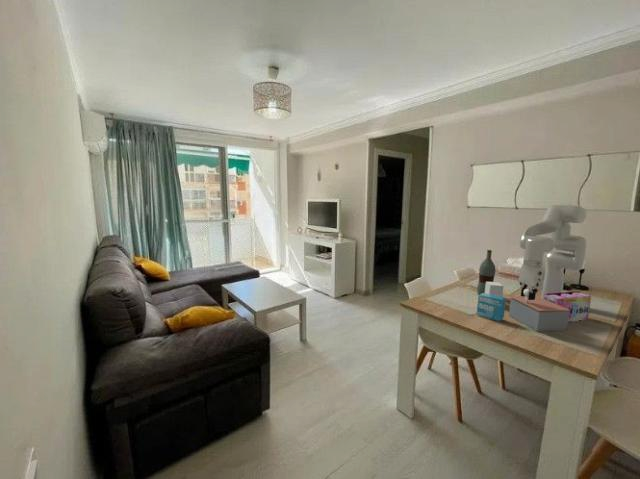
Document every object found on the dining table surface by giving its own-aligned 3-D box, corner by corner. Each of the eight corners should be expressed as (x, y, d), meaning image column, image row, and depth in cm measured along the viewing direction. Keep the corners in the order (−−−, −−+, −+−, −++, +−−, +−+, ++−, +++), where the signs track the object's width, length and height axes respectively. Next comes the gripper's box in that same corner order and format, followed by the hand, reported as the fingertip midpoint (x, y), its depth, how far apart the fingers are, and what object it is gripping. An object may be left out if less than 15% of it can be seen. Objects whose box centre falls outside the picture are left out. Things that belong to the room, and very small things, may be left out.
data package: (476, 315, 156) (478, 294, 154) (478, 312, 159) (480, 292, 157) (501, 322, 148) (504, 300, 146) (503, 319, 151) (506, 298, 149)
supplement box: (501, 306, 169) (504, 286, 166) (487, 305, 170) (490, 285, 168) (496, 301, 176) (498, 282, 174) (483, 300, 177) (485, 281, 175)
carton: (535, 314, 158) (537, 297, 156) (566, 330, 140) (569, 311, 138) (508, 315, 156) (511, 298, 154) (536, 331, 138) (539, 312, 137)
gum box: (574, 313, 160) (578, 290, 157) (590, 320, 152) (594, 295, 150) (539, 317, 155) (543, 293, 153) (554, 323, 147) (558, 298, 145)
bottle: (494, 298, 181) (499, 252, 176) (478, 296, 184) (483, 251, 179) (490, 293, 190) (495, 249, 185) (475, 291, 193) (480, 248, 188)
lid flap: (537, 297, 156) (540, 283, 155) (570, 311, 138) (573, 295, 137) (509, 297, 154) (511, 283, 153) (538, 311, 136) (541, 295, 135)
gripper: (554, 267, 134) (548, 304, 137) (525, 259, 150) (521, 292, 153) (540, 267, 133) (534, 304, 136) (512, 259, 150) (508, 292, 153)
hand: (527, 297), depth 145 cm, fingers closed on lid flap, 4 cm apart
